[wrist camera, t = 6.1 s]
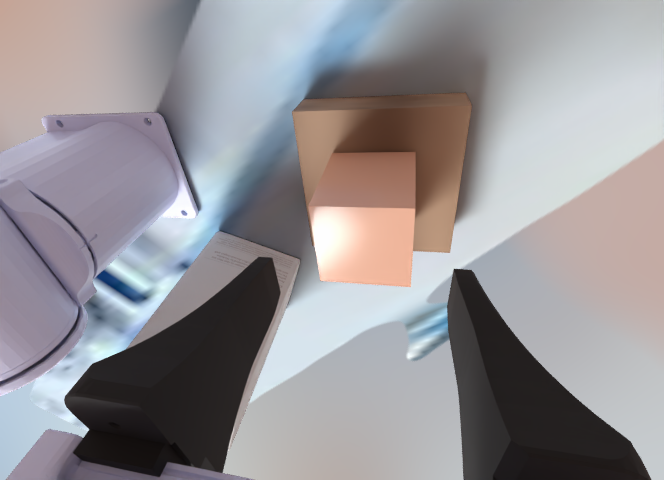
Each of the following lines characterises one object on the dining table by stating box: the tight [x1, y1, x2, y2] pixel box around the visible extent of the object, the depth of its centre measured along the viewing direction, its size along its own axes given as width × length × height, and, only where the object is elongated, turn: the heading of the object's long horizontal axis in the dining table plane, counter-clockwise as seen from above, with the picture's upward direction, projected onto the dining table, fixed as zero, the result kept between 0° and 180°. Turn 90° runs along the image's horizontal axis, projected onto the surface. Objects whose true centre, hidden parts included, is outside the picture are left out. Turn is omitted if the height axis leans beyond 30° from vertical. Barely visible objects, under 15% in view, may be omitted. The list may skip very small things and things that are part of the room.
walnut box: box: [292, 93, 472, 253], centre depth 21 cm, size 9×9×3 cm
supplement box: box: [127, 231, 300, 451], centre depth 25 cm, size 7×7×13 cm
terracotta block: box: [308, 152, 416, 287], centre depth 18 cm, size 4×4×6 cm
